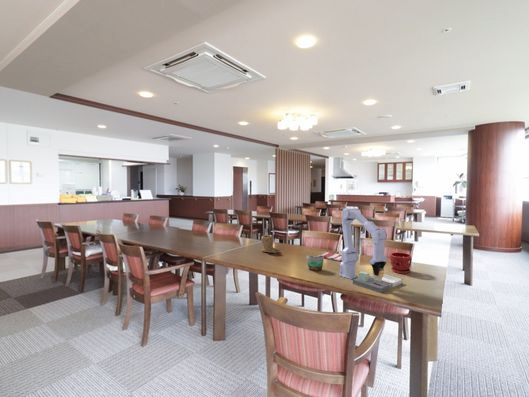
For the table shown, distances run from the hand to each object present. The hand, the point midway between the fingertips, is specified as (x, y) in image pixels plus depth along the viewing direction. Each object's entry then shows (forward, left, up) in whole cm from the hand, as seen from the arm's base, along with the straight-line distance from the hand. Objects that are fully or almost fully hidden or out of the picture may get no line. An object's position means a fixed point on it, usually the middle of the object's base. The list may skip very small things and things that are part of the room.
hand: (378, 274), depth 161 cm
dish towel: (-57, +35, -9) cm, 68 cm away
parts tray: (-3, +14, -8) cm, 17 cm away
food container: (-44, -3, -8) cm, 45 cm away
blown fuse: (0, 0, -3) cm, 3 cm away
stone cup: (-103, +4, -8) cm, 104 cm away
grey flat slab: (-4, 0, -8) cm, 9 cm away
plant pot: (-7, +41, -8) cm, 43 cm away
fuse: (-9, 0, -8) cm, 12 cm away
